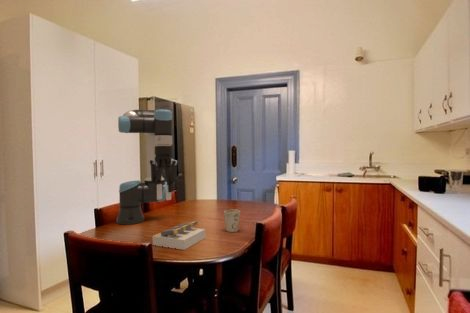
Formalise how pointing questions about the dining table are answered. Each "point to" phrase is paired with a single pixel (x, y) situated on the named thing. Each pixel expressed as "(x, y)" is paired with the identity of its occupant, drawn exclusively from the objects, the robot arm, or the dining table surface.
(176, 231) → the rocker
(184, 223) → the rocker
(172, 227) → the rocker
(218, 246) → the dining table surface
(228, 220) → the mug
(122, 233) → the dining table surface
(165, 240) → the switch unit
